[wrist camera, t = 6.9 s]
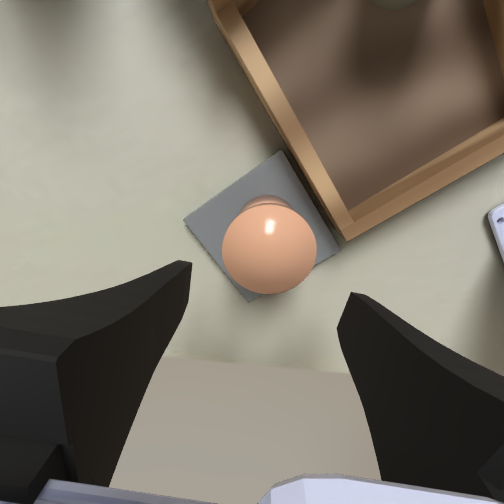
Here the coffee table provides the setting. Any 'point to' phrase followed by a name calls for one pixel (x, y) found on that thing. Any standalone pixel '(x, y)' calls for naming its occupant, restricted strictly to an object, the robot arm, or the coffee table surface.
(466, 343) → the coffee table surface
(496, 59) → the cold frame
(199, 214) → the slate tile
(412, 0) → the mint green knob
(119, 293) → the robot arm
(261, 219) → the peach rounded knob
